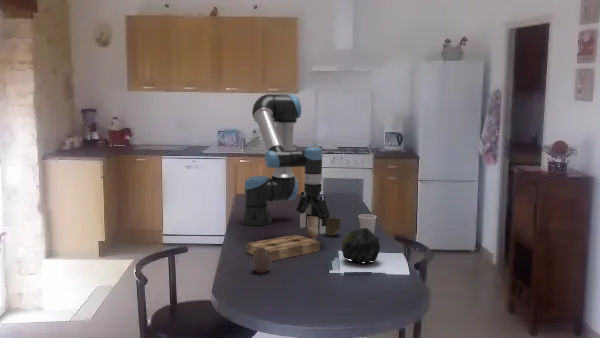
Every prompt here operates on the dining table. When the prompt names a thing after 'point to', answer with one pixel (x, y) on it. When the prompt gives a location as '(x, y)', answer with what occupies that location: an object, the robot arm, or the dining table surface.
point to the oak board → (285, 246)
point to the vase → (261, 261)
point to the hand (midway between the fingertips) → (312, 230)
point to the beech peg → (312, 227)
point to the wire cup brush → (332, 226)
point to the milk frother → (312, 213)
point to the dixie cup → (367, 221)
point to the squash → (361, 246)
